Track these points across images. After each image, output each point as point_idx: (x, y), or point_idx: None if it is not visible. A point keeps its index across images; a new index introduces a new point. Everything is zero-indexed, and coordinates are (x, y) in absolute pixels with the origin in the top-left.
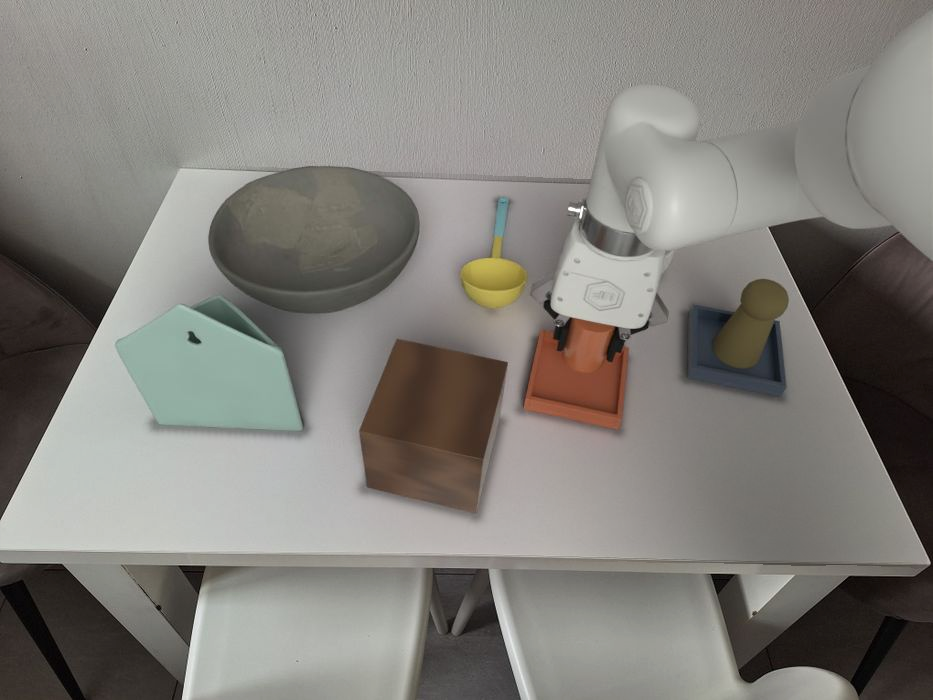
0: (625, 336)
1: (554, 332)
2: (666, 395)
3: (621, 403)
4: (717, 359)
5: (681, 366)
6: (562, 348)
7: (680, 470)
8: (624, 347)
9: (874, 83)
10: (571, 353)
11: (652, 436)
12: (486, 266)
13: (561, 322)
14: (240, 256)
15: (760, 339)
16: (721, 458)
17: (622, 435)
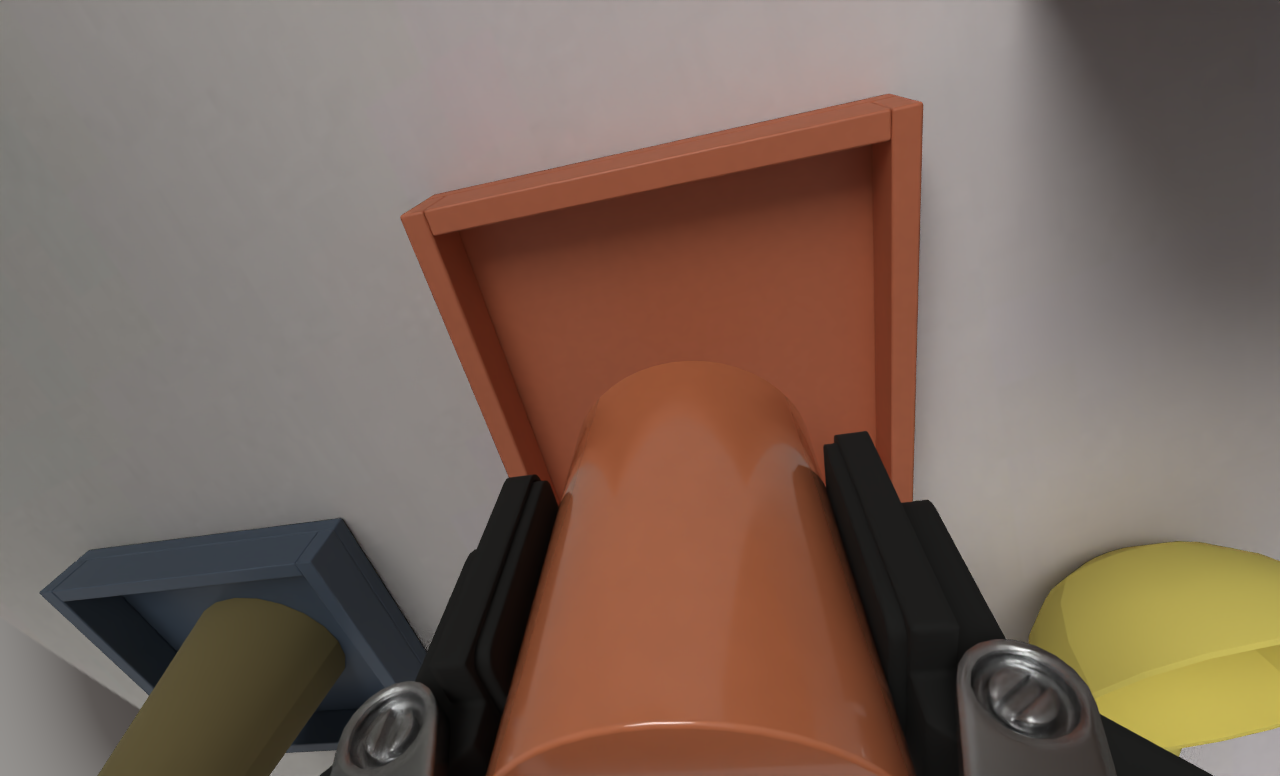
0: (391, 720)
1: (960, 555)
2: (360, 432)
3: (445, 307)
4: (295, 605)
5: (381, 548)
6: (837, 457)
7: (106, 110)
8: None
9: None
10: (766, 443)
11: (299, 232)
12: (1194, 700)
13: (1004, 700)
14: None
15: (125, 736)
16: (39, 253)
17: (403, 176)
